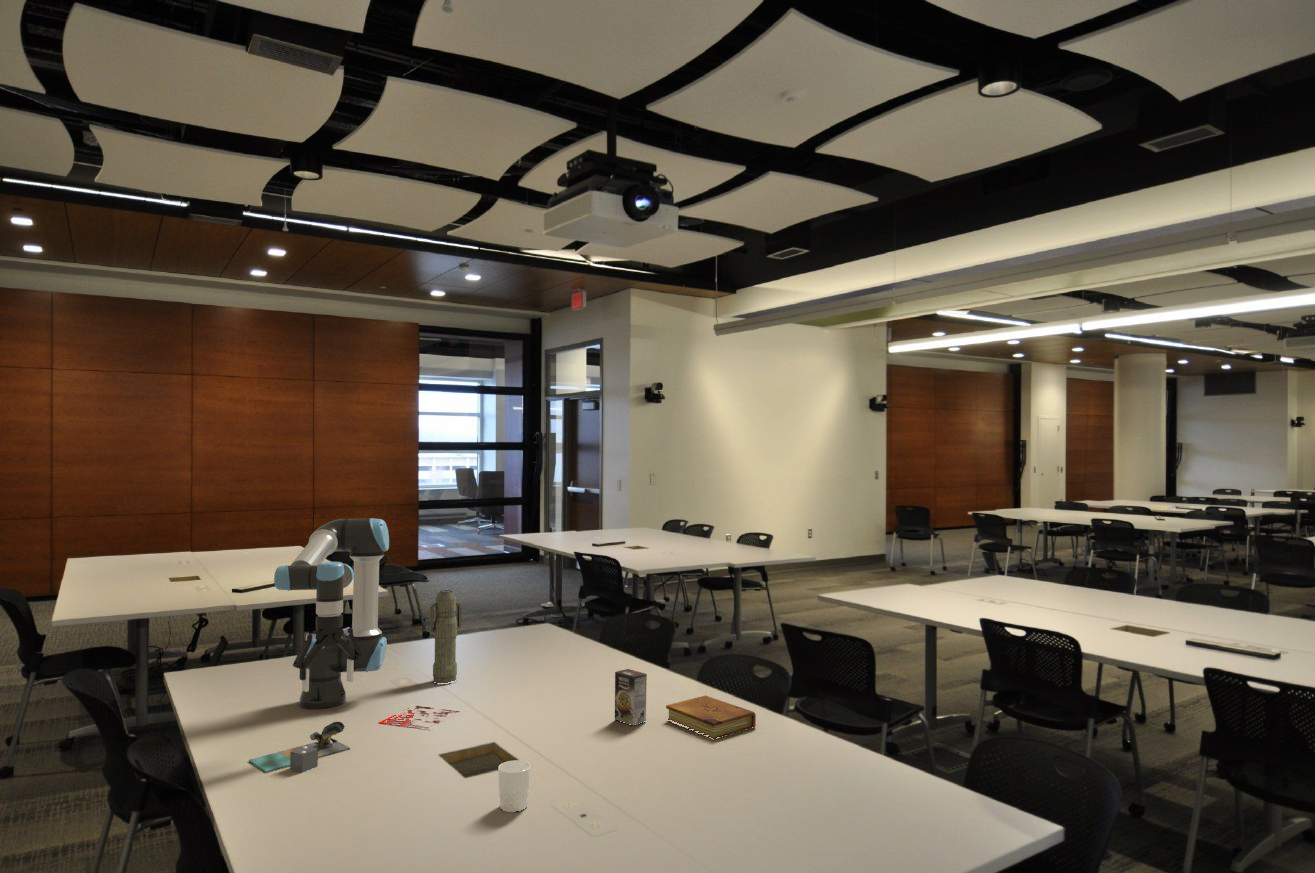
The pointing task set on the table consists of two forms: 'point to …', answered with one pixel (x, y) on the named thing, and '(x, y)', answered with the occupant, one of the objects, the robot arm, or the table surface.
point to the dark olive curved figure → (327, 734)
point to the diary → (711, 716)
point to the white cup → (514, 785)
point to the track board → (283, 757)
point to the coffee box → (630, 696)
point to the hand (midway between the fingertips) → (328, 685)
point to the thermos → (445, 635)
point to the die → (303, 759)
